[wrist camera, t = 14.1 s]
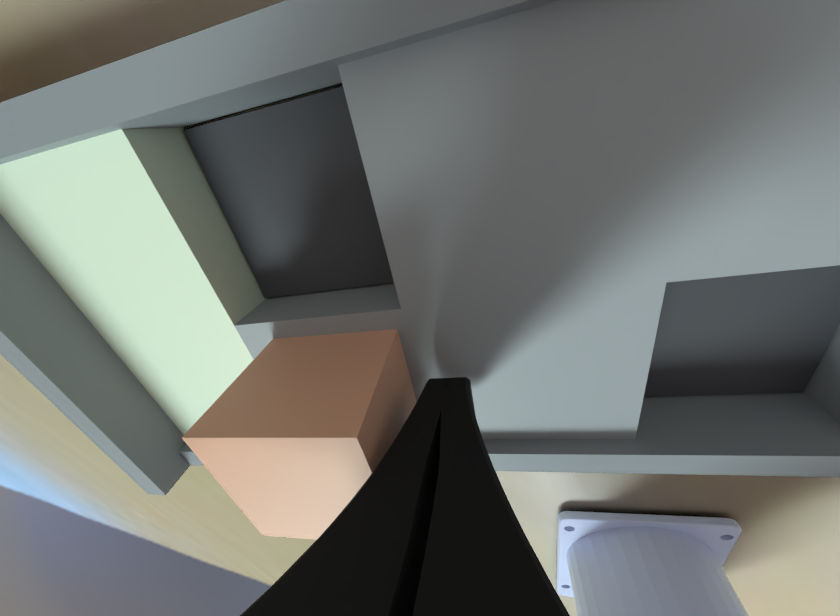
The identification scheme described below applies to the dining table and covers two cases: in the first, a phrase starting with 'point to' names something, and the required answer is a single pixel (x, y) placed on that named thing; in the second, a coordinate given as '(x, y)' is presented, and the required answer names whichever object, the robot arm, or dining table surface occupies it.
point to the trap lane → (449, 225)
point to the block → (306, 427)
